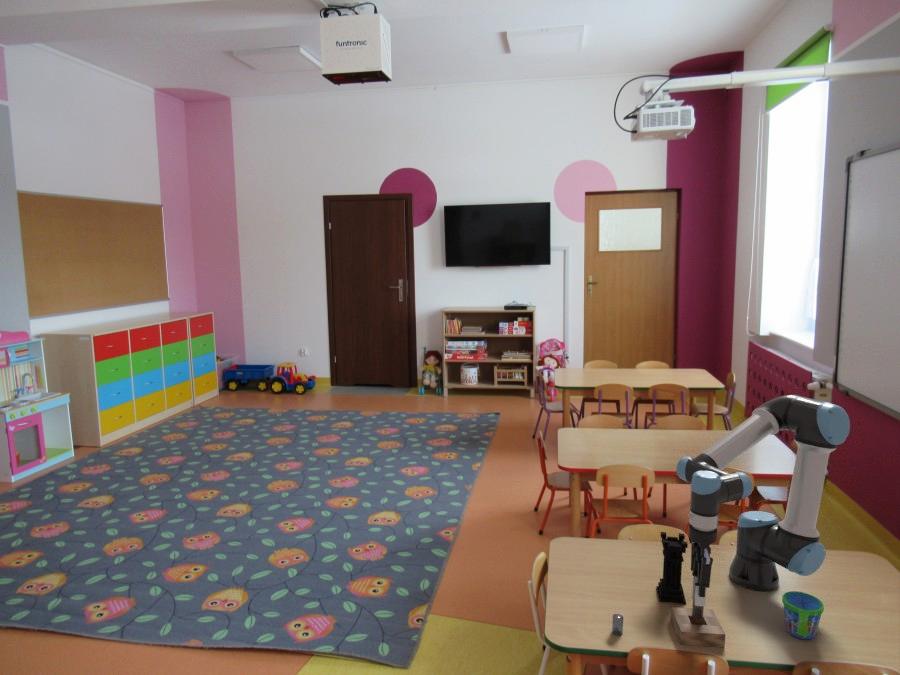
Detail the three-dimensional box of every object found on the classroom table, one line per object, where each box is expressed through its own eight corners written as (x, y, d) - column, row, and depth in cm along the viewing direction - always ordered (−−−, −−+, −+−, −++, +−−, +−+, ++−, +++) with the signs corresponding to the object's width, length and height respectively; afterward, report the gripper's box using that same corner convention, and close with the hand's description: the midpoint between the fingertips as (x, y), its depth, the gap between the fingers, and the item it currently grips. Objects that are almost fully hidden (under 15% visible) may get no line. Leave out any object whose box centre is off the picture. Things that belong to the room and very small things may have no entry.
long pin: (701, 613, 185) (704, 575, 183) (704, 619, 182) (706, 580, 180) (690, 612, 186) (693, 574, 184) (693, 618, 183) (695, 579, 181)
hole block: (711, 621, 190) (712, 609, 190) (724, 647, 178) (725, 634, 178) (670, 619, 191) (671, 607, 191) (680, 644, 180) (681, 631, 179)
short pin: (621, 629, 187) (622, 614, 186) (623, 635, 184) (624, 620, 183) (611, 629, 187) (612, 613, 186) (612, 635, 184) (613, 619, 183)
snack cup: (782, 613, 194) (785, 583, 192) (822, 624, 188) (825, 593, 187) (776, 640, 181) (779, 608, 179) (819, 653, 175) (822, 620, 174)
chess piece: (685, 604, 199) (689, 545, 196) (659, 601, 201) (662, 542, 198) (681, 590, 207) (685, 533, 204) (656, 588, 209) (659, 531, 205)
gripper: (682, 513, 188) (678, 586, 191) (697, 538, 172) (692, 617, 176) (708, 514, 187) (703, 587, 191) (725, 539, 172) (720, 618, 175)
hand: (698, 601), depth 183 cm, fingers closed on long pin, 3 cm apart
